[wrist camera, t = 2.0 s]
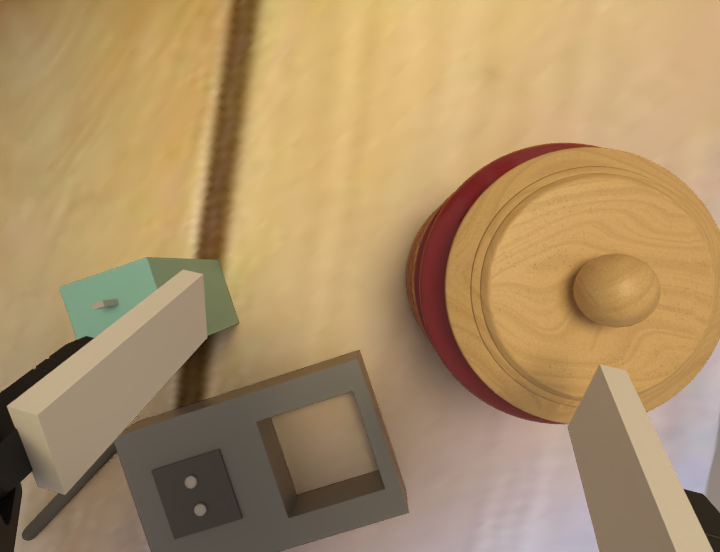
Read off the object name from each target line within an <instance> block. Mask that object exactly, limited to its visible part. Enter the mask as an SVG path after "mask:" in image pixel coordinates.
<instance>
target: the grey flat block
mask: <svg viewBox="0 0 720 552" xmlns="http://www.w3.org/2000/svg"><path fill="white" fill-rule="evenodd" d="M352 391H353V393H354V396H355V399H356V402H357V405H358V408H359V411H360V414H361V417H362V420H363V423H364V426H365V429H366V432H367V435H368V438H369V441H370V444H371V447H372V450H373V453H374V456H375V459H376V462H377V465H378V468H379V470H378V471H374V472H371V473H368V474H365V475H361V476H358V477H355V478H352V479H348V480H345V481H342V482H339V483H335V484H332V485H329V486H326V487H322V488H319V489H316V490H312V491H309V492H306V493H303V494H299V495H296V492H295V489H294V486H293V483H292V480H291V477H290V474H289V471H288V468H287V465H286V462H285V459H284V456H283V453H282V450H281V447H280V444H279V441H278V438H277V435H276V432H275V429H274V426H273V423H272V420H271V417H273V416H276V415H279V414H283V413H286V412H289V411H292V410H295V409H298V408H301V407H305V406H308V405H311V404H314V403H317V402H320V401H323V400H327V399H330V398H333V397H336V396H339V395H342V394H345V393H349V392H352ZM114 444H115V447H116V450H117V453H118V456H119V459H120V461H121V464H122V467H123V470H124V473H125V476H126V479H127V482H128V485H129V488H130V491H131V494H132V497H133V500H134V503H135V506H136V509H137V512H138V515H139V518H140V521H141V523H142V526H143V529H144V532H145V535H146V538H147V541H148V544H149V547H150V550H151V552H279V551H283V550H286V549H289V548H293V547H296V546H299V545H303V544H306V543H309V542H313V541H316V540H319V539H323V538H326V537H329V536H333V535H336V534H339V533H343V532H346V531H349V530H353V529H356V528H359V527H363V526H366V525H369V524H373V523H376V522H379V521H383V520H386V519H389V518H393V517H396V516H399V515H403V514H406V513H409V510H408V502H407V493H406V488H405V485H404V482H403V479H402V476H401V473H400V470H399V467H398V464H397V461H396V458H395V455H394V452H393V449H392V446H391V443H390V440H389V437H388V434H387V431H386V428H385V425H384V422H383V419H382V416H381V413H380V410H379V407H378V404H377V401H376V398H375V395H374V392H373V389H372V386H371V383H370V380H369V377H368V374H367V371H366V368H365V365H364V362H363V359H362V356H361V353H360V350H358V351H355V352H352V353H349V354H346V355H342V356H339V357H336V358H333V359H330V360H327V361H324V362H321V363H318V364H315V365H311V366H308V367H305V368H302V369H299V370H296V371H293V372H290V373H287V374H284V375H280V376H277V377H274V378H271V379H268V380H265V381H262V382H259V383H256V384H253V385H249V386H246V387H243V388H240V389H237V390H234V391H231V392H228V393H225V394H222V395H219V396H215V397H212V398H209V399H206V400H203V401H200V402H197V403H194V404H191V405H188V406H184V407H181V408H178V409H175V410H172V411H169V412H166V413H163V414H160V415H157V416H153V417H150V418H147V419H144V420H141V421H138V422H136V423H134V424H133V425H131V426H130V427H128V428H126V429H125V430H123V432H122V433H121V434H120V435H119V436H118V437H117V438H116V439H115V440H114Z"/></svg>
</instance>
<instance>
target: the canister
mask: <svg viewBox="0 0 720 552" xmlns="http://www.w3.org/2000/svg"><path fill="white" fill-rule="evenodd" d="M406 284H407V293H408V298H409V302H410V306H411V309H412V311H413V314H414V316H415V318H416V320H417V322H418V324H419V326H420V327H421V329H422V331H423V332H424V333H425V335H426V336H427V337H428V339H429V341H430V342H431V344H432V345H433V347H434V348H435V350H436V352H437V353H438V355H439V356H440V358H441V360H442V361H443V363H444V364H445V366H446V367H447V368H448V370H449V371H450V372H451V373H452V374H453V376H454V377H455V378H456V379H457V380H458V381H459V382H460V383H461V384H462V385H463V386H464V387H465V388H466V389H468V390H469V391H470V392H471V393H472V394H474V395H475V396H476V397H478V398H479V399H481V400H482V401H484V402H485V403H487V404H489V405H490V406H492V407H494V408H496V409H498V410H500V411H502V412H505V413H507V414H509V415H512V416H515V417H518V418H521V419H525V420H529V421H534V422H540V423H548V424H569V423H570V421H571V420H572V418H573V416H574V414H575V412H576V410H577V408H578V406H579V404H580V402H581V400H582V398H583V396H584V394H585V392H586V390H587V388H588V386H589V384H590V382H591V380H592V378H593V376H594V374H595V372H596V370H597V368H598V366H599V364H601V365H605V366H610V367H614V368H618V369H623V370H626V371H627V373H628V375H629V377H630V379H631V381H632V384H633V386H634V388H635V390H636V392H637V394H638V396H639V398H640V400H641V402H642V404H643V406H644V408H645V411H646V412H648V411H650V410H652V409H654V408H656V407H658V406H660V405H661V404H663V403H665V402H666V401H668V400H669V399H671V398H672V397H673V396H675V395H676V394H677V393H679V392H680V391H681V390H682V389H683V388H684V387H685V386H687V385H688V384H689V383H690V382H691V381H692V379H693V378H694V377H695V376H696V375H697V374H698V373H699V371H700V370H701V369H702V368H703V366H704V365H705V363H706V362H707V360H708V359H709V357H710V356H711V354H712V352H713V350H714V349H715V347H716V345H717V343H718V340H719V338H720V232H719V229H718V227H717V225H716V223H715V221H714V219H713V218H712V216H711V214H710V213H709V211H708V209H707V208H706V207H705V205H704V204H703V202H702V201H701V200H700V199H699V198H698V196H697V195H696V194H695V193H694V192H693V191H692V190H691V189H690V188H689V187H688V186H687V185H686V184H685V183H684V182H683V181H681V180H680V179H679V178H678V177H677V176H675V175H674V174H672V173H671V172H670V171H668V170H666V169H665V168H663V167H661V166H660V165H658V164H656V163H654V162H652V161H650V160H648V159H645V158H643V157H640V156H638V155H634V154H631V153H628V152H624V151H620V150H614V149H608V148H601V147H597V146H593V145H586V144H578V143H551V144H543V145H536V146H532V147H528V148H524V149H521V150H518V151H515V152H512V153H509V154H507V155H505V156H502V157H500V158H498V159H496V160H494V161H493V162H491V163H489V164H488V165H486V166H484V167H483V168H481V169H480V170H479V171H477V172H476V173H474V174H473V175H472V176H471V177H470V178H468V179H467V180H466V181H465V182H464V183H463V184H462V185H461V186H460V187H459V188H458V189H457V190H456V191H455V192H454V193H453V194H452V195H451V196H450V197H449V198H447V199H446V201H445V202H444V203H443V204H442V205H441V206H440V207H439V208H438V209H437V210H436V211H434V212H433V214H432V215H431V216H430V217H429V218H428V219H427V220H426V222H425V223H424V225H423V226H422V227H421V229H420V231H419V232H418V234H417V236H416V238H415V240H414V243H413V245H412V248H411V251H410V254H409V258H408V264H407V272H406Z"/></svg>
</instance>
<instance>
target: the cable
mask: <svg viewBox="0 0 720 552" xmlns="http://www.w3.org/2000/svg"><path fill="white" fill-rule="evenodd" d="M116 451H117V450H116V447H115V444H114V442H113V443H112V444H111V445H110V446H109V447H108V448H107V449H106V450H105V452H104V453H103V454H102V455H101V456H100V457H99V458H98V459H97V460H96V461H95V463H94V464H93V465H92V466H91V467H90V468H89V469H88V470H87V471H86V473H85V474H84V475H83V476H82V477H81V478H80V479H79V480H78V481H77V482H76V484H75V485H74V486H73V487H72V488H71V489H70V490H69V491H68V492H67V494H66V495H63V494H60V493H58V494H57V495H56V496H55V497H54V498H53V499H52V501H51V502H50V503H49V504H48V505H47V506H46V507H45V508H44V509H43V510H42V511H41V512H40V513H39V514H38V515H37V517H36V518H35V519H34V520H33V521H32V522H31V523H30V524H29V525H28V526H27V527H26V528H25V529H24V531H23V533H22V538H23V539H24V540H27V541H28V540H32V539H34V538H35V537H36V536H37V535H38V534H39V533H40V532H41V531H42V529H43V528H44V527H45V526H46V525H47V524H48V523H49V522H50V521H51V520H52V519H53V518H54V517H55V516H56V515H57V513H58V512H59V511H60V510H61V509H62V508H63V507H64V506H65V505H66V504H67V503H68V502H69V501H70V500H71V499H72V498H73V496H74V495H75V494H76V493H77V492H78V491H79V490H80V489H81V488H82V487H83V486H84V485H85V484H86V483H87V482H88V480H89V479H90V478H91V477H92V476H93V475H94V474H95V473H96V472H97V471H98V470H99V469H100V468H101V467H102V466H103V465H104V463H105V462H106V461H107V460H108V459H109V458H110V457H111V456H112V455H113V454H114V453H115V452H116Z"/></svg>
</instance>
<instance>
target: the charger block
mask: <svg viewBox="0 0 720 552" xmlns="http://www.w3.org/2000/svg"><path fill="white" fill-rule="evenodd" d="M182 270H187V271H192V272H196V273H200V274H203V279H204V294H205V309H206V324H207V336H208V335H211V334H213V333H216V332H218V331H221V330H223V329H226V328H228V327H231V326H233V325H235V324H238V323H239V320H238V317H237V314H236V311H235V308H234V305H233V302H232V299H231V296H230V293H229V290H228V287H227V285H226V282H225V279H224V276H223V273H222V270H221V267H220V264H219V261H218V260H207V259H180V258H152V257H146V258H143V259H140V260H137V261H134V262H131V263H128V264H126V265H123V266H120V267H117V268H114V269H111V270H108V271H105V272H102V273H99V274H96V275H94V276H91V277H88V278H85V279H82V280H79V281H76V282H73V283H70V284H67V285H64V286H62V287H59V288H60V291H61V294H62V297H63V300H64V303H65V306H66V309H67V312H68V315H69V318H70V321H71V324H72V327H73V330H74V333H75V336H76V339H77V340H78V339H80V338H82V337H85V336H89V337H92V338H95V337H97V336H98V335H99V334H100V333H102V332H103V331H104V330H106V329H107V328H108V327H109V326H111V325H112V324H113V323H115V322H116V321H117V320H118V319H120V318H121V317H122V316H124V315H125V314H126V313H128V312H129V311H130V310H131V309H133V308H134V307H135V306H137V305H138V304H139V303H140V302H142V301H143V300H144V299H146V298H147V297H148V296H149V295H151V294H152V293H153V292H155V291H156V290H157V289H158V288H160V287H161V286H162V285H164V284H165V283H166V282H167V281H169V280H170V279H171V278H173V277H174V276H175V275H177V274H178V273H179V272H180V271H182Z"/></svg>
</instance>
